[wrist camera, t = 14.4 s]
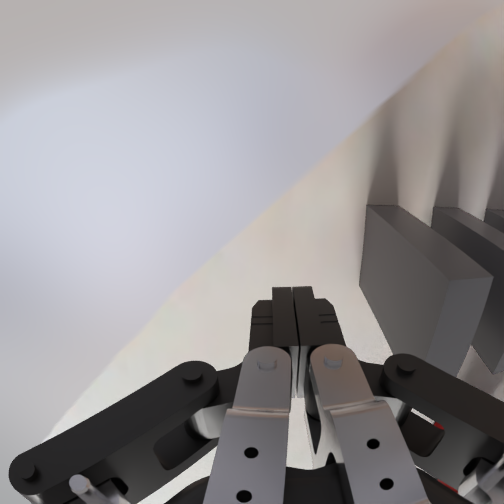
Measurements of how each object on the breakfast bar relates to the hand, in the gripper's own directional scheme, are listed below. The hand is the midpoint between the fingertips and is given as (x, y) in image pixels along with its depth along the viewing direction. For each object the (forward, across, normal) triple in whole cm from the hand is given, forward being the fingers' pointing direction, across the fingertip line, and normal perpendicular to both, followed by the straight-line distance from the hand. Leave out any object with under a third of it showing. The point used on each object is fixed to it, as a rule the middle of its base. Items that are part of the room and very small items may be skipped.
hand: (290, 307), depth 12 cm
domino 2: (+6, -10, 0) cm, 12 cm away
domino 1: (+6, -6, 0) cm, 8 cm away
